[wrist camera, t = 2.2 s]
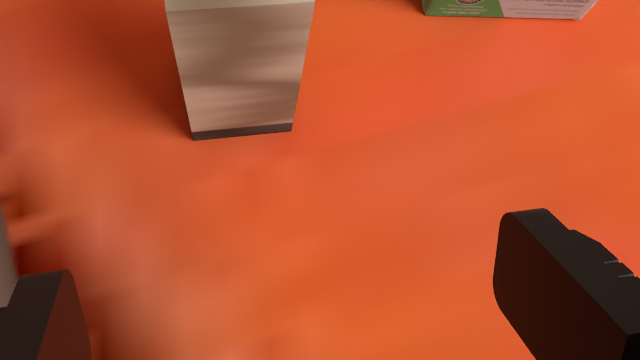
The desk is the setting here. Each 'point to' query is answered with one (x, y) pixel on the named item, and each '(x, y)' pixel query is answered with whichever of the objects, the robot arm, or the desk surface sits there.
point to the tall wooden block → (239, 63)
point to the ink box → (509, 8)
